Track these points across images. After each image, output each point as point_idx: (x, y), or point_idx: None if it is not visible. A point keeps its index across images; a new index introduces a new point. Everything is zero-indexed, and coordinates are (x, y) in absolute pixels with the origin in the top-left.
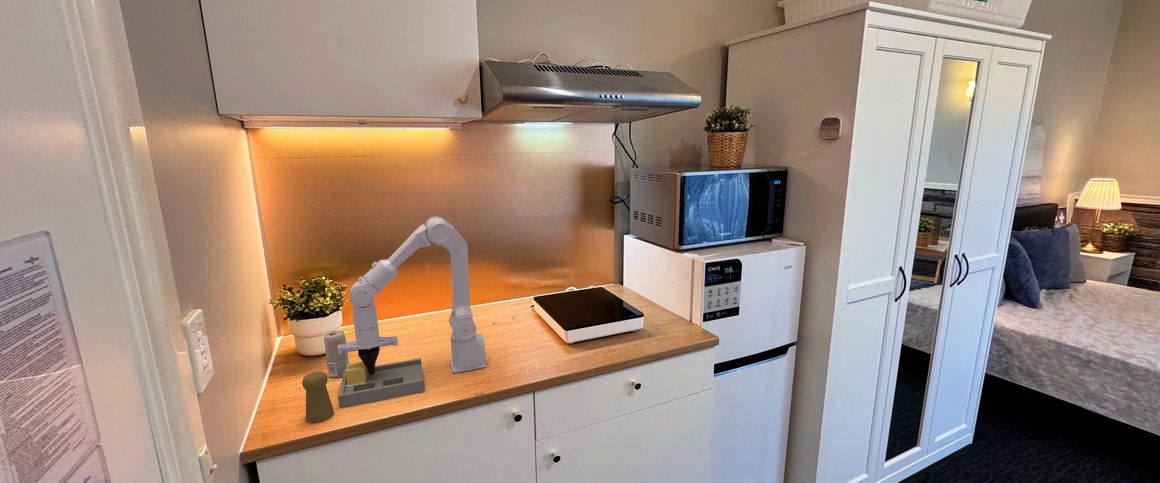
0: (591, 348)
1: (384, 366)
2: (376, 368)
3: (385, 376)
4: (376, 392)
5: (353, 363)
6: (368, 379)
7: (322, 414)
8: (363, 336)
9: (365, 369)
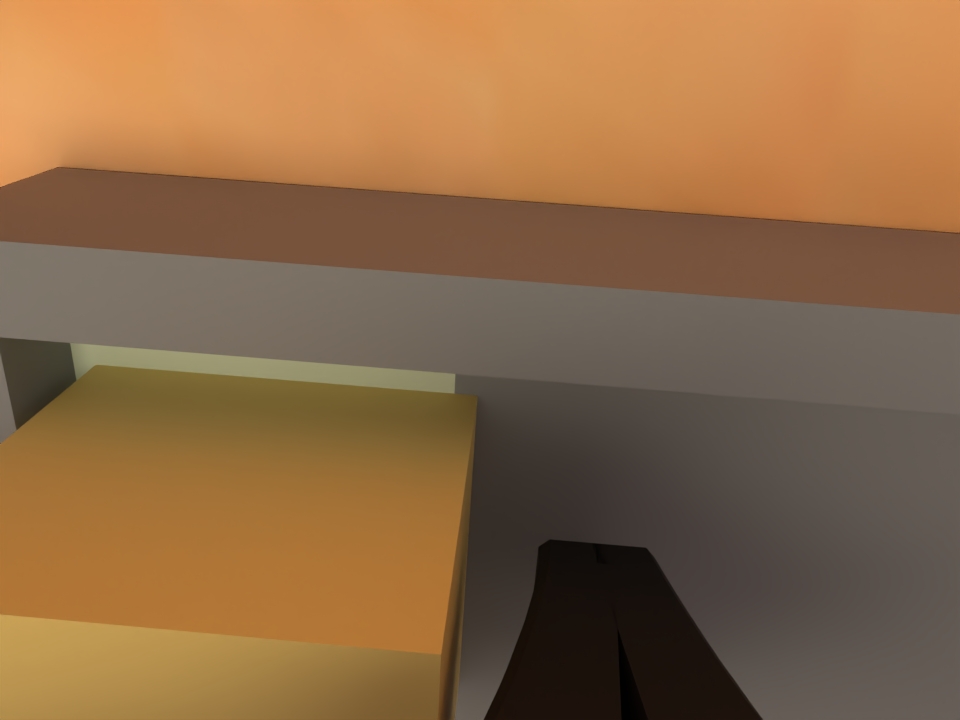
0: None
1: (936, 406)
2: (718, 382)
3: (823, 650)
4: None
5: (44, 669)
6: (502, 624)
7: None
8: None
9: (447, 714)
